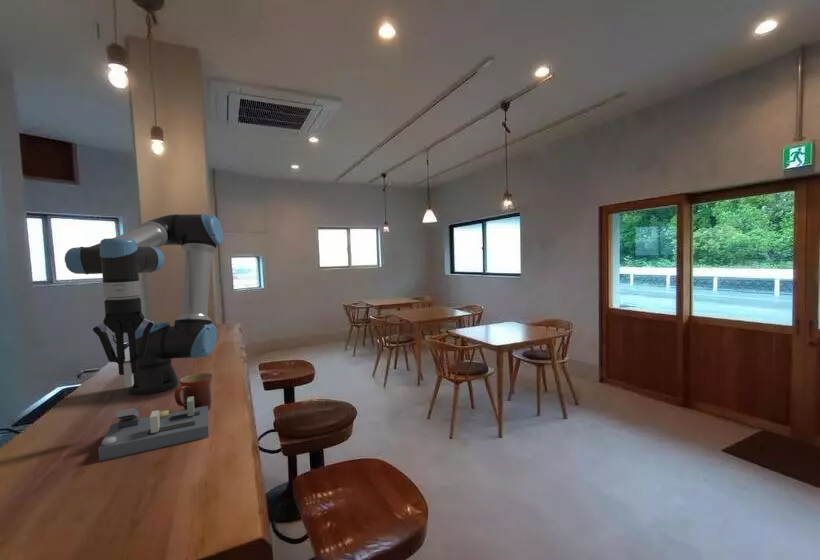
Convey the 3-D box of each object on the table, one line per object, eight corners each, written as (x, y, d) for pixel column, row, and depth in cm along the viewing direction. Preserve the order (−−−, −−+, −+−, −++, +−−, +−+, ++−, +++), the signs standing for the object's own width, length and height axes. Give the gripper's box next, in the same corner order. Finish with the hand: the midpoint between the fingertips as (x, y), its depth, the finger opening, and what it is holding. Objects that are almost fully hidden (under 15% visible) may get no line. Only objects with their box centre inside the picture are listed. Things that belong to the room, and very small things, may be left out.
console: (113, 434, 97) (112, 417, 97) (208, 415, 108) (207, 400, 108) (99, 461, 84) (97, 442, 84) (208, 437, 95) (207, 420, 95)
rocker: (122, 420, 98) (123, 413, 98) (139, 417, 99) (139, 410, 100) (116, 417, 91) (116, 410, 92) (133, 414, 93) (133, 407, 93)
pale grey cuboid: (152, 426, 94) (152, 411, 93) (160, 425, 94) (159, 410, 94) (150, 433, 90) (149, 417, 90) (158, 431, 91) (157, 415, 91)
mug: (196, 404, 117) (194, 372, 116) (220, 405, 115) (219, 373, 115) (164, 420, 105) (162, 385, 105) (190, 423, 103) (188, 387, 103)
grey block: (188, 411, 103) (187, 397, 103) (194, 410, 104) (193, 396, 103) (187, 416, 99) (186, 402, 99) (194, 415, 100) (193, 400, 100)
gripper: (86, 301, 90) (94, 395, 92) (151, 297, 96) (157, 385, 98) (94, 298, 96) (101, 385, 98) (154, 294, 103) (160, 377, 105)
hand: (129, 385), depth 98 cm, fingers closed
